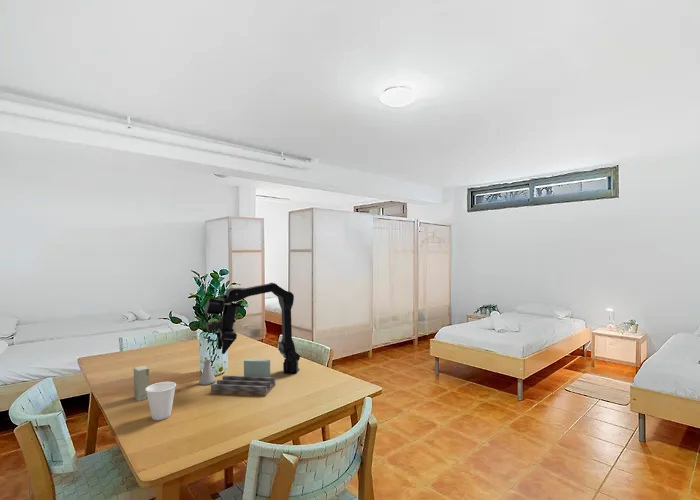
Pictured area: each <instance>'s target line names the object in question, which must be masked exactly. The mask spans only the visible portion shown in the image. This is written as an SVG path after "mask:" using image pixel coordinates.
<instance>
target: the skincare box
mask: <svg viewBox="0 0 700 500" xmlns="http://www.w3.org/2000/svg"><path fill="white" fill-rule="evenodd" d="M150 379H151V378H150V367H148V366H146V365H141V366H136V367H133V388H134V389H133V391H134V392H133V395H134V399H135V400H137V401H138V402H140V401H144V400H148V397H147V392H146V390H145V389H146V388H147V387H148V386H150V385H151V382H150Z"/></svg>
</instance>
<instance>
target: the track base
mask: <svg viewBox="0 0 700 500" xmlns="http://www.w3.org/2000/svg"><path fill="white" fill-rule="evenodd" d="M221 378H222V379H216V383H212V384H210V394H212V395H213V394H214V395H233V396H236V395H237V396H256V397H257V396H260V397H267V395H268V394H269V393H270V392H271V390H272V391H273V389H274V387H276V377H271V376H270V377H250V376H244V375H222V377H221Z"/></svg>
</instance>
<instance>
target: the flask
mask: <svg viewBox="0 0 700 500" xmlns="http://www.w3.org/2000/svg"><path fill="white" fill-rule="evenodd" d="M202 362H203V369H202V373H201V376H200V377H199V381H198V385H202V386H205V385H206V386H207V385H211V384H215V382H217V379H216V376H215V374H214V372H213V369H212V366H211V362H212V359H204V360H203V361H202Z"/></svg>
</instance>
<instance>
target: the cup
mask: <svg viewBox="0 0 700 500" xmlns="http://www.w3.org/2000/svg"><path fill="white" fill-rule="evenodd" d="M176 386H177V383H176V382H173V381H161V382H160V381H159V382H156V383H153V384H150V386H148V387H147V388H146V389H145V390H146V392H147V397H148V399H147V400H148V405H149V410H150V415H151V419H152V420H153V421H162V420H165V419H168V418H170V416H171V414H172V409H173V403H174V398H175V397H174V396H175V392H176Z"/></svg>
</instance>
